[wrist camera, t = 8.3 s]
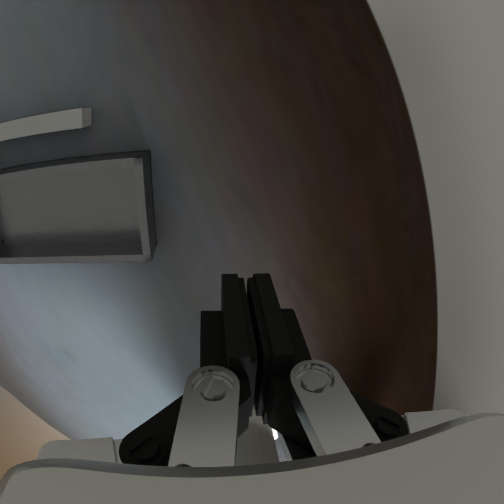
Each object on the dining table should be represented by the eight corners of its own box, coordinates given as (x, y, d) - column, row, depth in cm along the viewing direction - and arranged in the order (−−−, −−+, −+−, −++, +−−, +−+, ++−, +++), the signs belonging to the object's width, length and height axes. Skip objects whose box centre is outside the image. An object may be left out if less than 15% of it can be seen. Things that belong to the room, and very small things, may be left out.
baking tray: (156, 244, 26) (151, 261, 24) (-5, 249, 24) (-20, 263, 21) (150, 150, 23) (142, 157, 20) (-21, 173, 20) (-40, 183, 18)
